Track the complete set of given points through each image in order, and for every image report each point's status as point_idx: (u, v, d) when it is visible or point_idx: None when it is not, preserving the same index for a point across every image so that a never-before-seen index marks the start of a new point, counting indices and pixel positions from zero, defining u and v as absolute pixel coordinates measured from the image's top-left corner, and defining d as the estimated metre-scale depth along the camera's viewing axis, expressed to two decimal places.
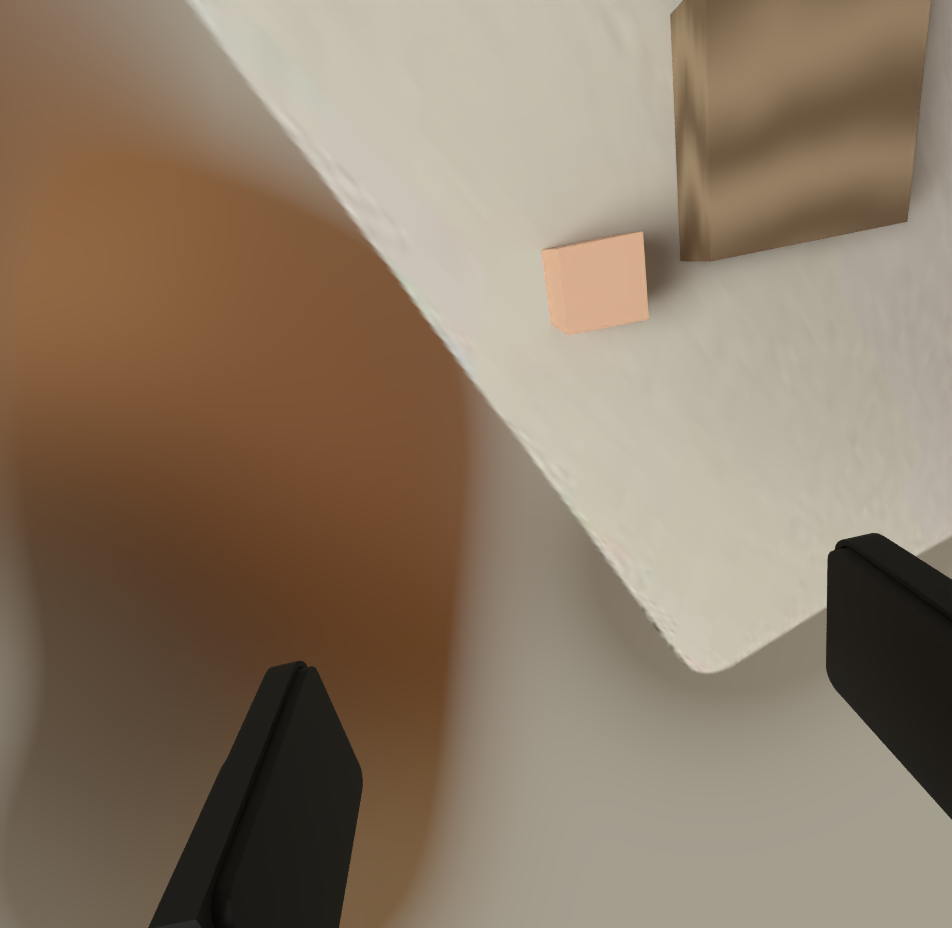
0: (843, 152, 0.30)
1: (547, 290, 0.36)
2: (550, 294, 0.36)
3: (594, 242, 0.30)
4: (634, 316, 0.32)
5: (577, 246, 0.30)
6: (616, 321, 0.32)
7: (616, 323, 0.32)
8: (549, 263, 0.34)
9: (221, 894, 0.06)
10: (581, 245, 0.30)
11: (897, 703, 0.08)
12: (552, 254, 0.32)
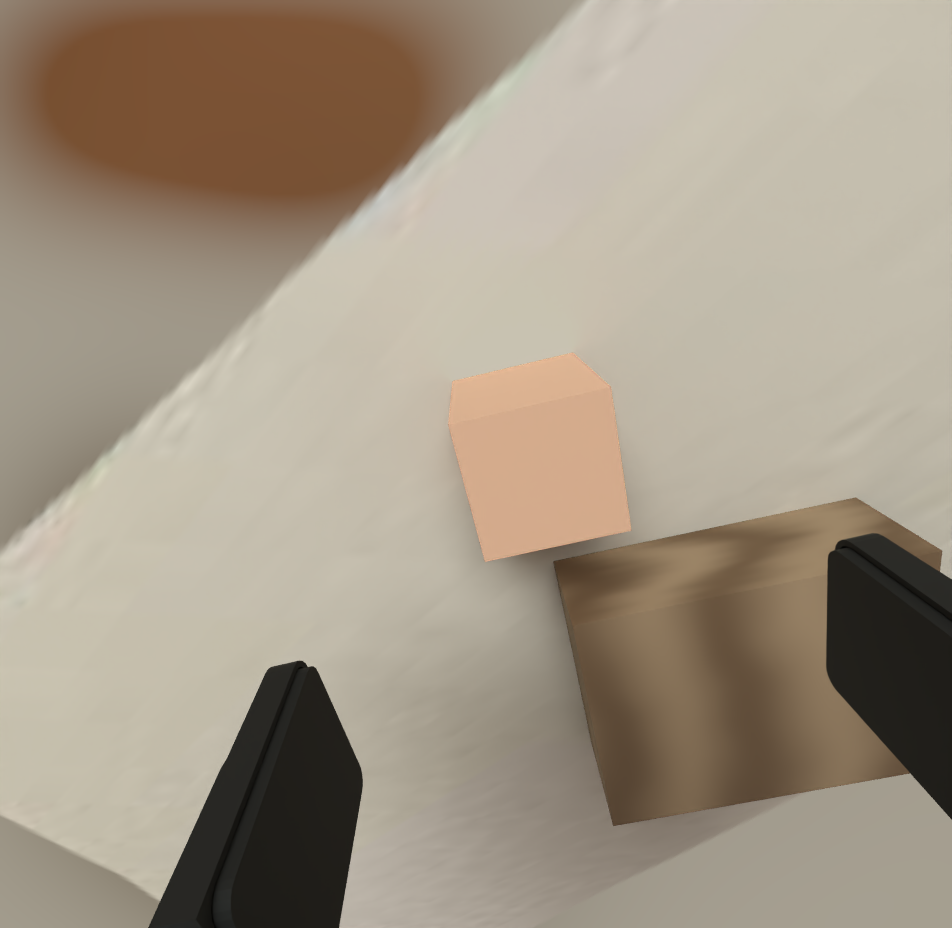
0: (701, 746, 0.23)
1: (509, 369, 0.21)
2: (506, 376, 0.20)
3: (618, 453, 0.16)
4: (488, 538, 0.17)
5: (613, 423, 0.16)
6: (478, 509, 0.17)
7: (475, 510, 0.17)
8: (563, 370, 0.19)
9: (221, 894, 0.06)
10: (614, 430, 0.16)
11: (897, 702, 0.08)
12: (587, 375, 0.17)
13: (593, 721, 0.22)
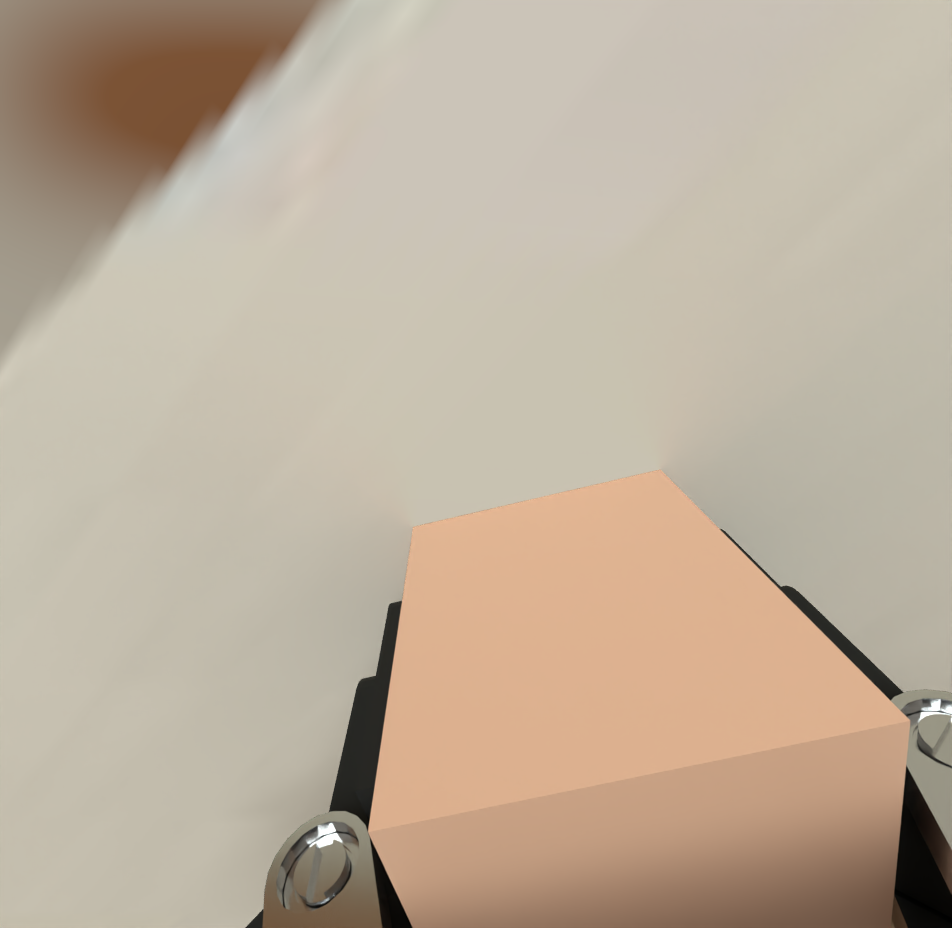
0: None
1: (530, 509, 0.10)
2: (527, 539, 0.09)
3: (888, 871, 0.05)
4: None
5: (894, 812, 0.05)
6: None
7: None
8: (668, 547, 0.08)
9: None
10: (893, 826, 0.05)
11: None
12: (759, 599, 0.06)
13: None
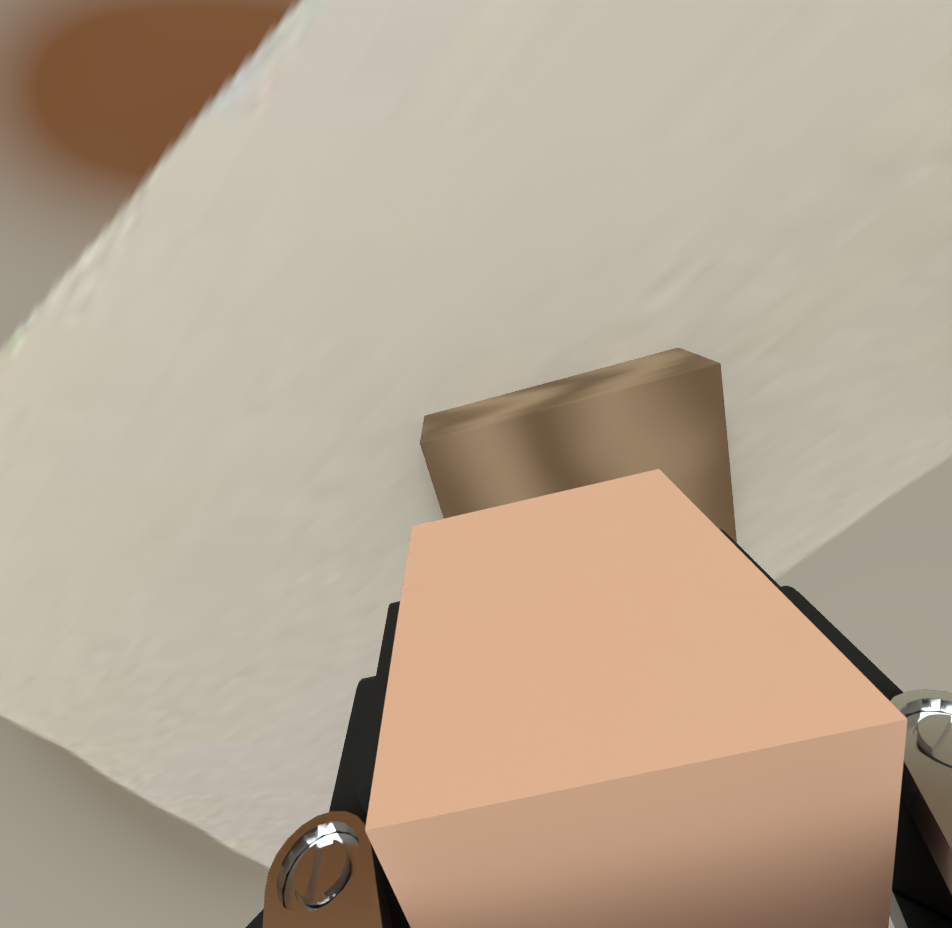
0: None
1: (529, 508, 0.10)
2: (526, 538, 0.09)
3: (885, 870, 0.05)
4: None
5: (892, 810, 0.05)
6: None
7: None
8: (667, 546, 0.08)
9: None
10: (890, 825, 0.05)
11: None
12: (757, 598, 0.06)
13: None
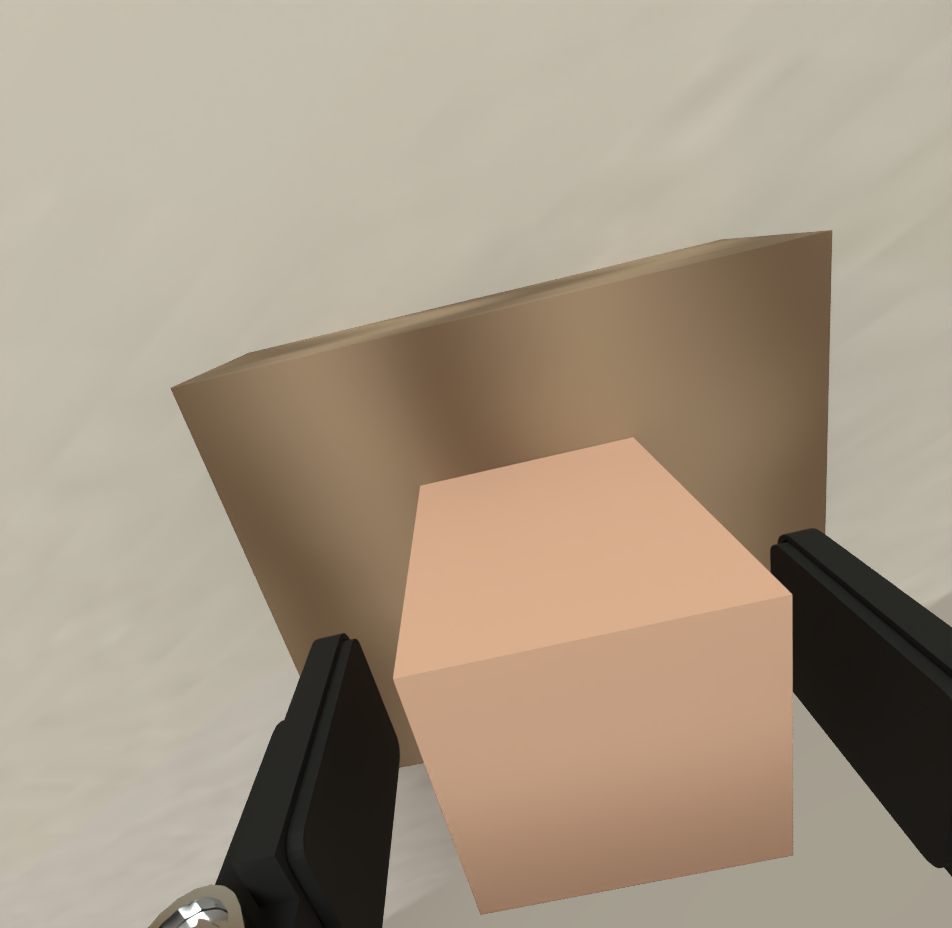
0: None
1: (521, 469, 0.12)
2: (517, 491, 0.11)
3: (787, 723, 0.07)
4: (489, 877, 0.08)
5: (786, 669, 0.07)
6: (467, 832, 0.08)
7: (459, 834, 0.08)
8: (633, 493, 0.10)
9: (293, 836, 0.06)
10: (786, 683, 0.07)
11: (829, 688, 0.08)
12: (698, 525, 0.08)
13: (262, 587, 0.13)
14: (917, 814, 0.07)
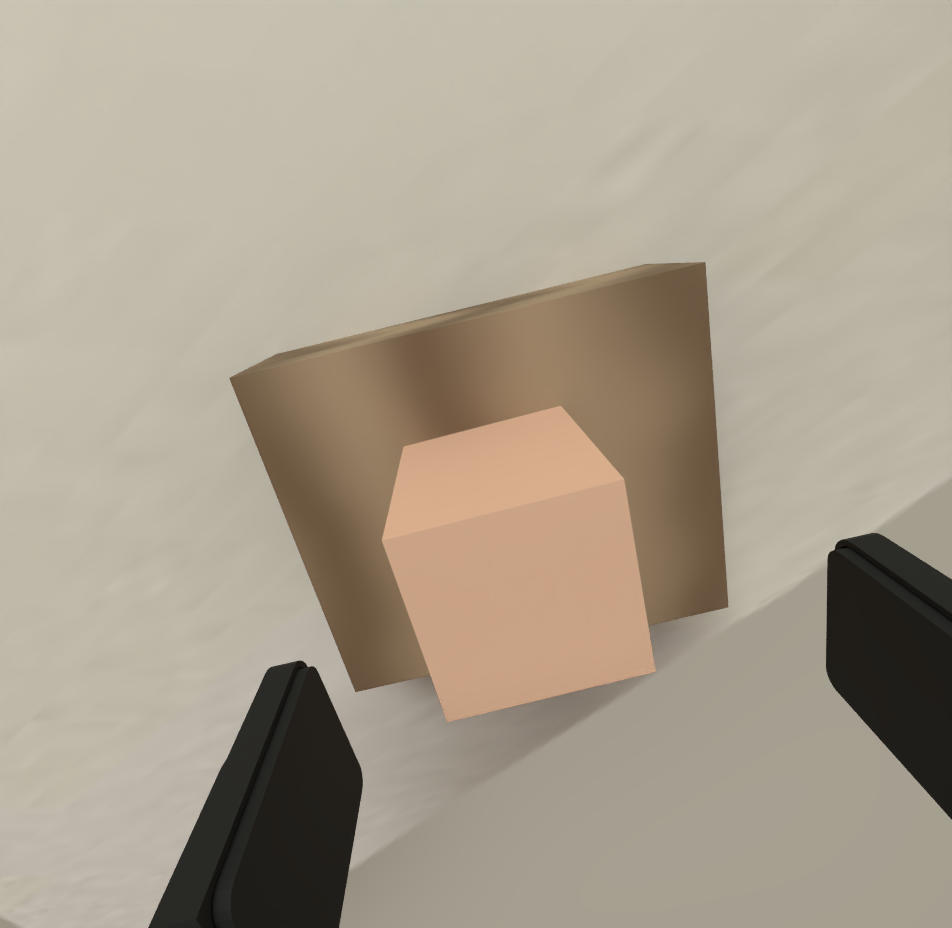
0: None
1: (477, 431, 0.16)
2: (472, 443, 0.15)
3: (635, 570, 0.11)
4: (451, 691, 0.12)
5: (628, 530, 0.11)
6: (434, 654, 0.12)
7: (429, 655, 0.12)
8: (550, 438, 0.14)
9: (221, 894, 0.06)
10: (630, 540, 0.11)
11: (897, 703, 0.08)
12: (585, 451, 0.12)
13: (292, 531, 0.17)
14: None
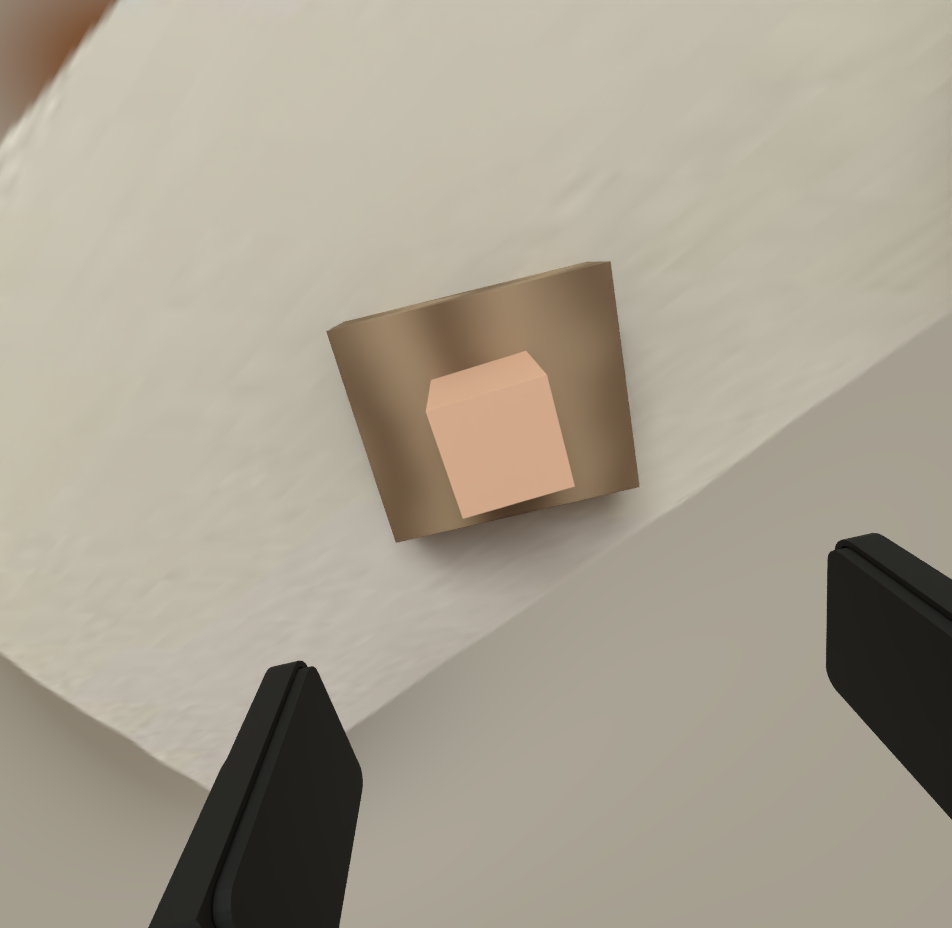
0: None
1: (475, 367, 0.26)
2: (472, 373, 0.25)
3: (558, 425, 0.21)
4: (464, 499, 0.22)
5: (551, 403, 0.21)
6: (454, 477, 0.22)
7: (451, 477, 0.22)
8: (516, 365, 0.24)
9: (221, 894, 0.06)
10: (553, 408, 0.21)
11: (897, 703, 0.08)
12: (532, 368, 0.22)
13: (359, 430, 0.27)
14: None
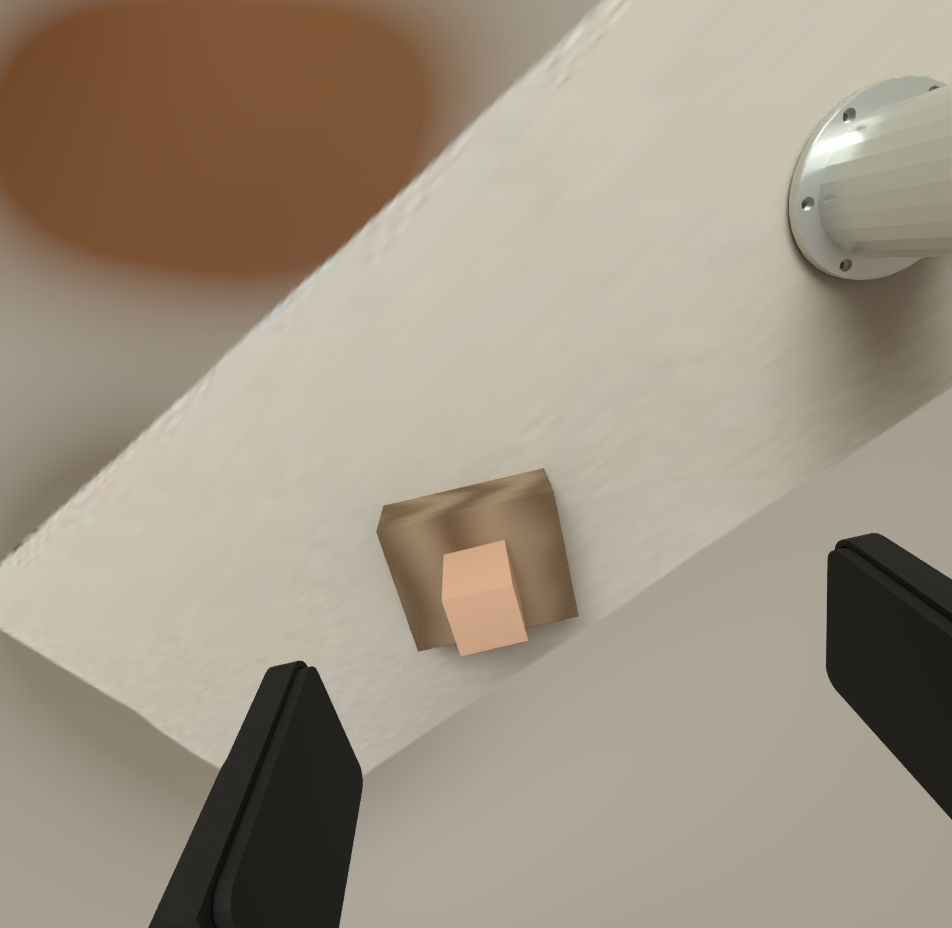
0: None
1: (472, 550, 0.41)
2: (470, 558, 0.40)
3: (518, 609, 0.36)
4: (462, 646, 0.37)
5: (514, 598, 0.36)
6: (456, 634, 0.37)
7: (455, 634, 0.37)
8: (496, 560, 0.39)
9: (221, 894, 0.06)
10: (515, 600, 0.36)
11: (897, 703, 0.08)
12: (505, 569, 0.37)
13: (396, 586, 0.42)
14: None
